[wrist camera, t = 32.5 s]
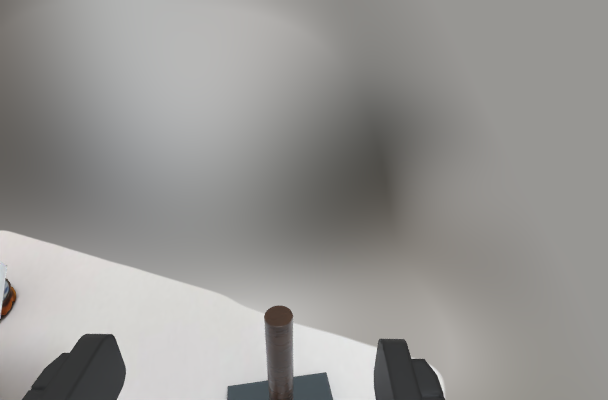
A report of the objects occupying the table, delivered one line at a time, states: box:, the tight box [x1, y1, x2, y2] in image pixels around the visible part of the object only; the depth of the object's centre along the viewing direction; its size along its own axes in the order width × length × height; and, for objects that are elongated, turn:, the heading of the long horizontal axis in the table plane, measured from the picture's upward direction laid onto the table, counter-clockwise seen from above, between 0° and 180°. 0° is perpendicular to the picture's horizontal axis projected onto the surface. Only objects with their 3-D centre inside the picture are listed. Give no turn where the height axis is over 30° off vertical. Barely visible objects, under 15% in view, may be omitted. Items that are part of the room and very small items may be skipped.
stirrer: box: [264, 306, 293, 400], centre depth 29 cm, size 4×4×14 cm
